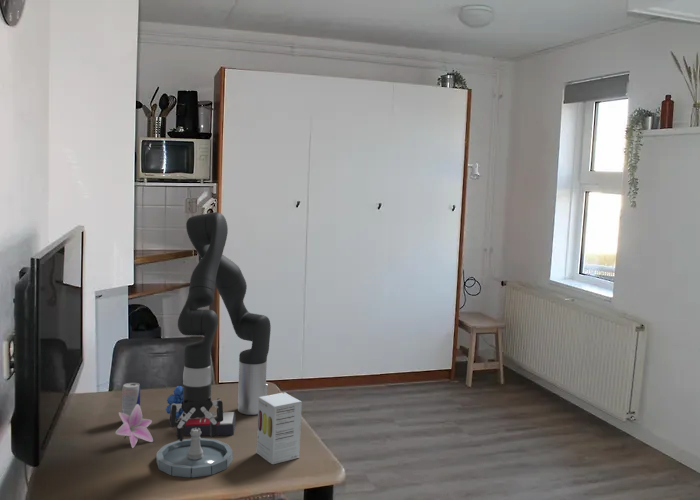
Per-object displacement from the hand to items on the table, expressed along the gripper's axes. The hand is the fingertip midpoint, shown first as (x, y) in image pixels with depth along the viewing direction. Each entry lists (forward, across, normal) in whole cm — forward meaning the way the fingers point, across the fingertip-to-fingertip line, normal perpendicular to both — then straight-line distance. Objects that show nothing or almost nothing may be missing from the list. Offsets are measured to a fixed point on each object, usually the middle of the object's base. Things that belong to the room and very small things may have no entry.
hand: (196, 438), depth 185 cm
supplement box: (+7, -23, +3) cm, 24 cm away
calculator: (+7, -8, -23) cm, 25 cm away
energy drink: (+7, +14, -35) cm, 38 cm away
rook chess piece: (+6, 0, 0) cm, 6 cm away
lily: (+7, +15, -18) cm, 25 cm away
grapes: (+7, -2, -34) cm, 35 cm away
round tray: (+6, 0, 0) cm, 7 cm away
